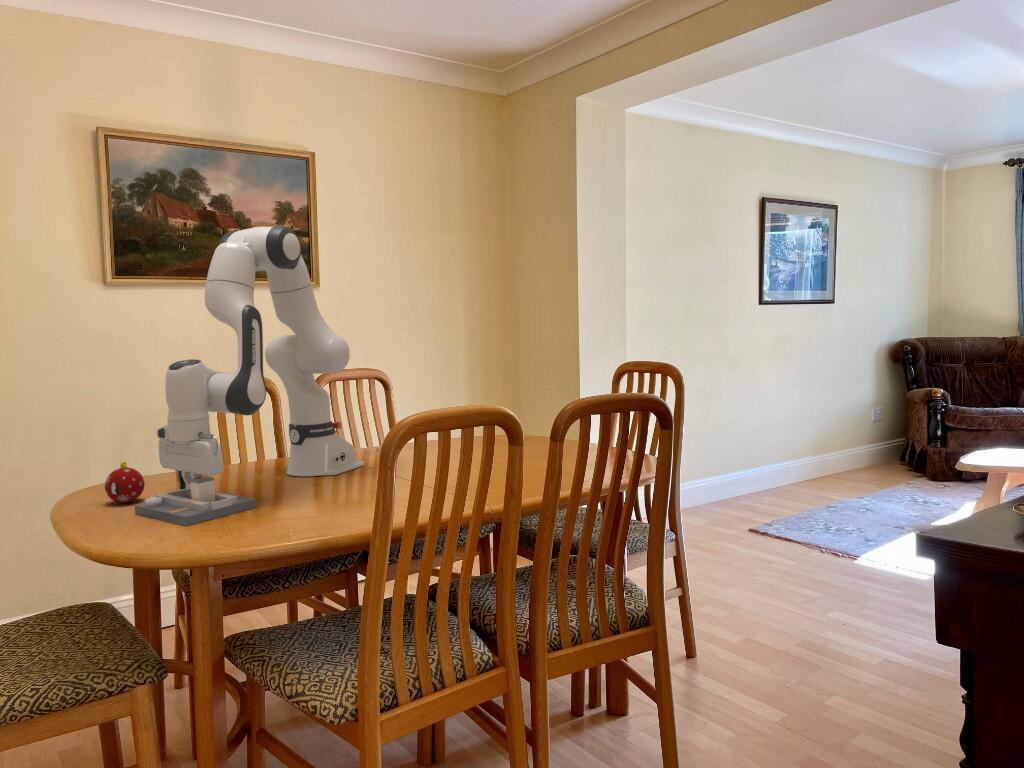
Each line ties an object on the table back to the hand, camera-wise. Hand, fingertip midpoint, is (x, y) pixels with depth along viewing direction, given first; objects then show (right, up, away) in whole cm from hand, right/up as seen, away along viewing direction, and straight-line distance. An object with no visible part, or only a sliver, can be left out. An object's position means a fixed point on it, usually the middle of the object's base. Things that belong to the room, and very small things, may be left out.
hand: (193, 490), depth 175 cm
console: (+1, -5, 0) cm, 5 cm away
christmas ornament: (-20, -5, +10) cm, 23 cm away
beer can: (-8, -3, +18) cm, 20 cm away
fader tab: (+3, -3, -2) cm, 4 cm away
